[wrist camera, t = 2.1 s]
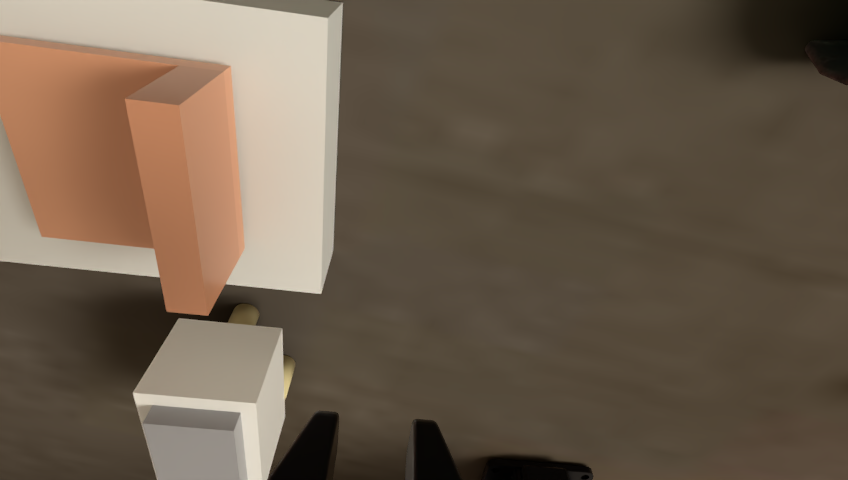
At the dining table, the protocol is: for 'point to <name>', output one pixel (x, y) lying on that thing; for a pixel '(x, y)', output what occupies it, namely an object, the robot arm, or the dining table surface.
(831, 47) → the diary
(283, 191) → the socket
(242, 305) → the plug
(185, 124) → the orange angular block
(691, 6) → the dining table surface
